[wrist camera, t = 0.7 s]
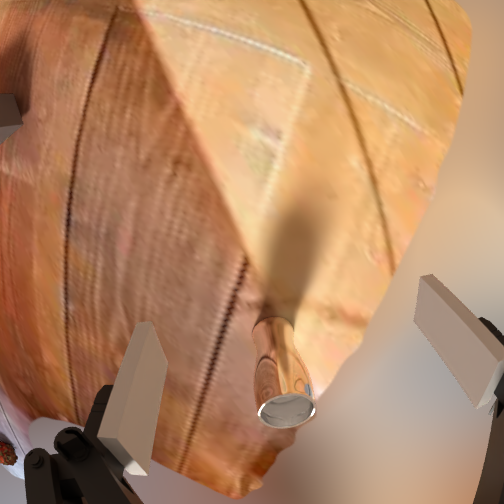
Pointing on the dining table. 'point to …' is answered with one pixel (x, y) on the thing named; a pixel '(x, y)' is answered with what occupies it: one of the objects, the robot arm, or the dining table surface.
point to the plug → (8, 116)
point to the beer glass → (280, 376)
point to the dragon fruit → (7, 454)
